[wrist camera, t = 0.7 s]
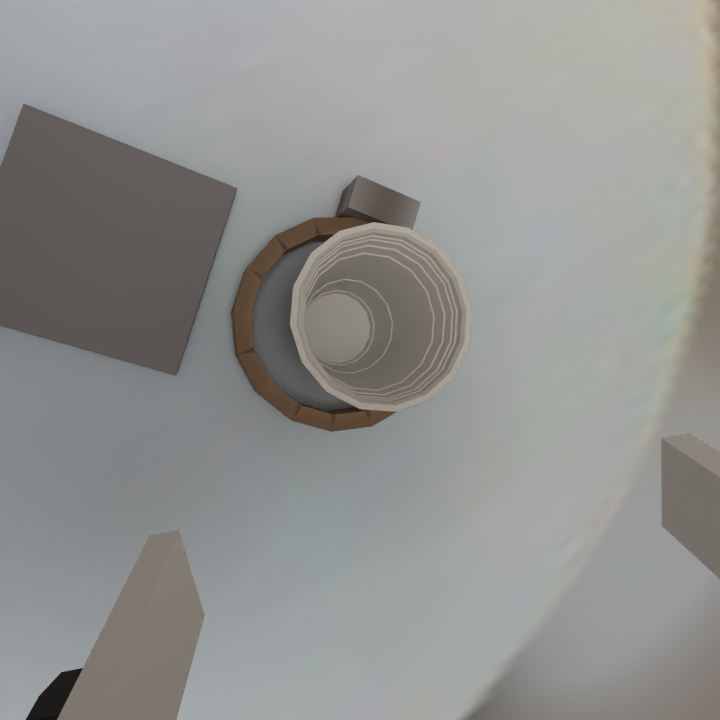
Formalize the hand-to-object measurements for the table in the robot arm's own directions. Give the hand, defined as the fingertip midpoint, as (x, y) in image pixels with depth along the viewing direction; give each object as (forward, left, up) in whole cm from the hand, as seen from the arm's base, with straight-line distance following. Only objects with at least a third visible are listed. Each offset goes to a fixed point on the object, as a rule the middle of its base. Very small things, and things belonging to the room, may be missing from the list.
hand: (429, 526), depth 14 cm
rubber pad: (-15, +8, -27) cm, 32 cm away
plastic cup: (+2, +8, -27) cm, 28 cm away
